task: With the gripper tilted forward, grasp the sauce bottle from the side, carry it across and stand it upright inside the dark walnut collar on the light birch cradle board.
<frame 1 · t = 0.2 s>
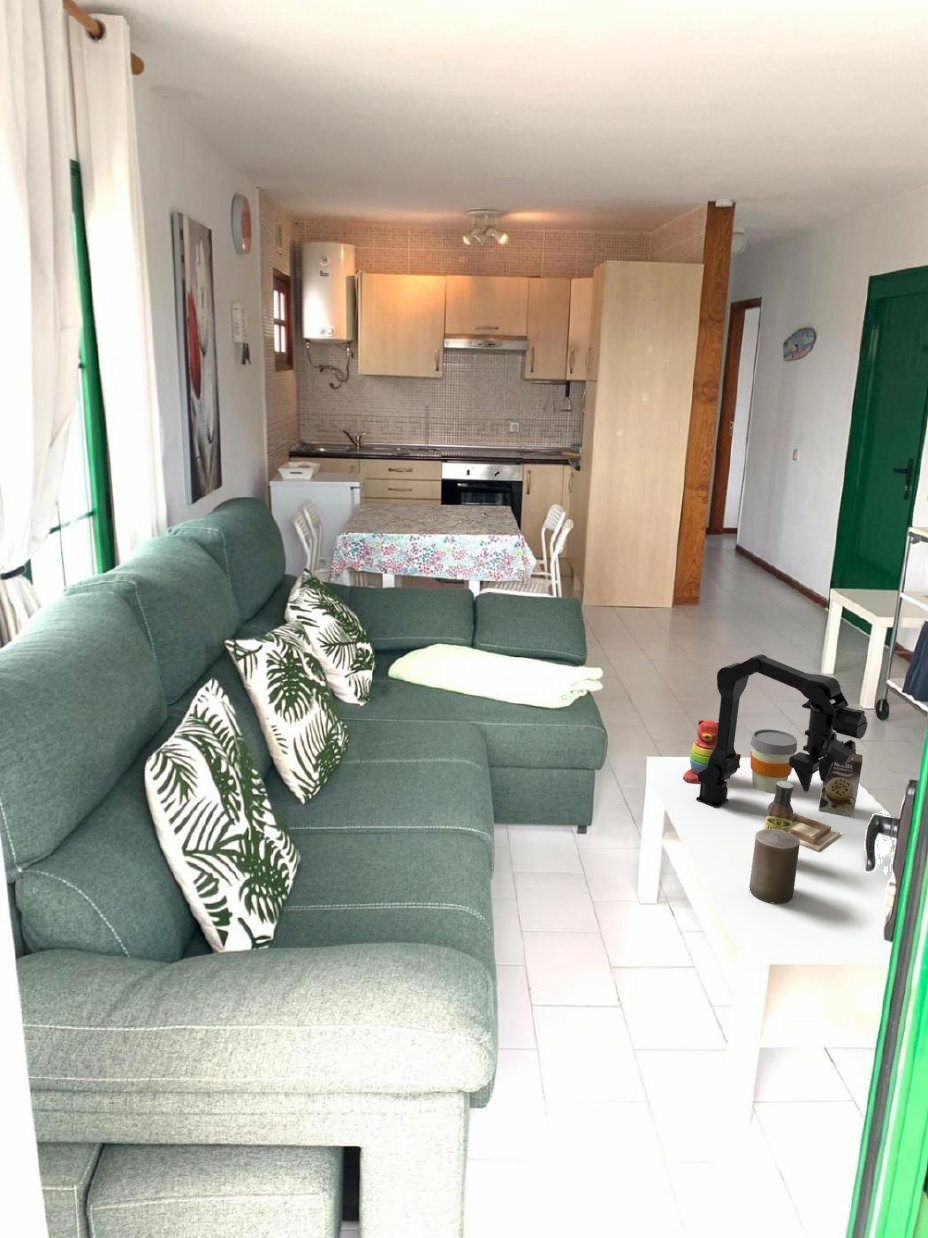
hand: (814, 786, 242), 14 cm above the table, tool pointing down, fingers open, 9 cm apart
reusable coffee cup: (768, 786, 276), on the table
cookie box: (836, 810, 263), on the table
stacking bear: (704, 779, 279), on the table
pillar candle: (770, 893, 220), on the table
sauce bottle: (773, 859, 236), on the table
cradle: (803, 833, 249), on the table
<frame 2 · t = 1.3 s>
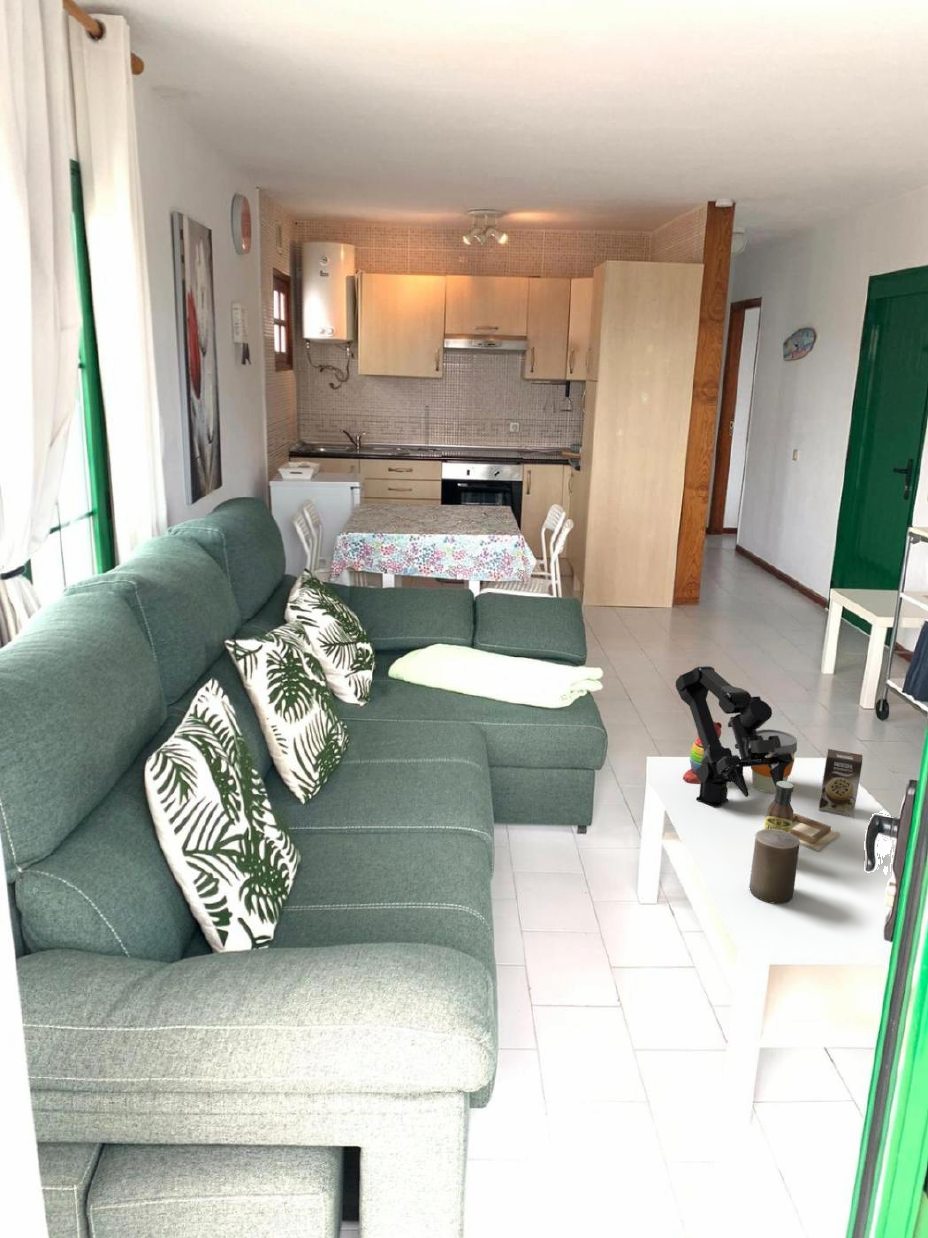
hand: (764, 795, 239), 13 cm above the table, tool tilted 45°, fingers open, 9 cm apart
nothing on the table moved.
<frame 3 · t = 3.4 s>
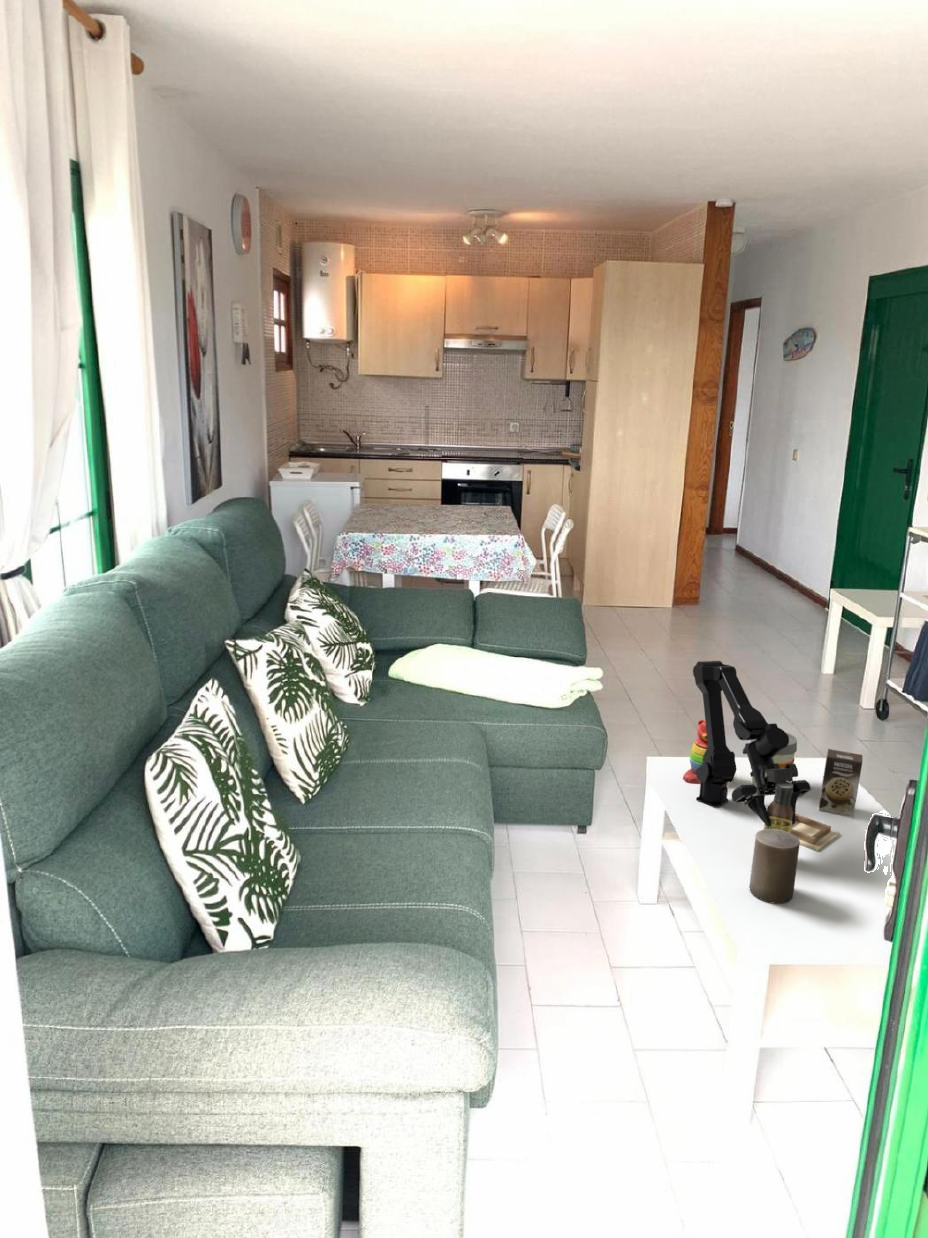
hand: (781, 825, 232), 10 cm above the table, tool tilted 45°, fingers closed on sauce bottle, 6 cm apart
sauce bottle: (773, 859, 236), on the table, touching gripper
everything else where it was.
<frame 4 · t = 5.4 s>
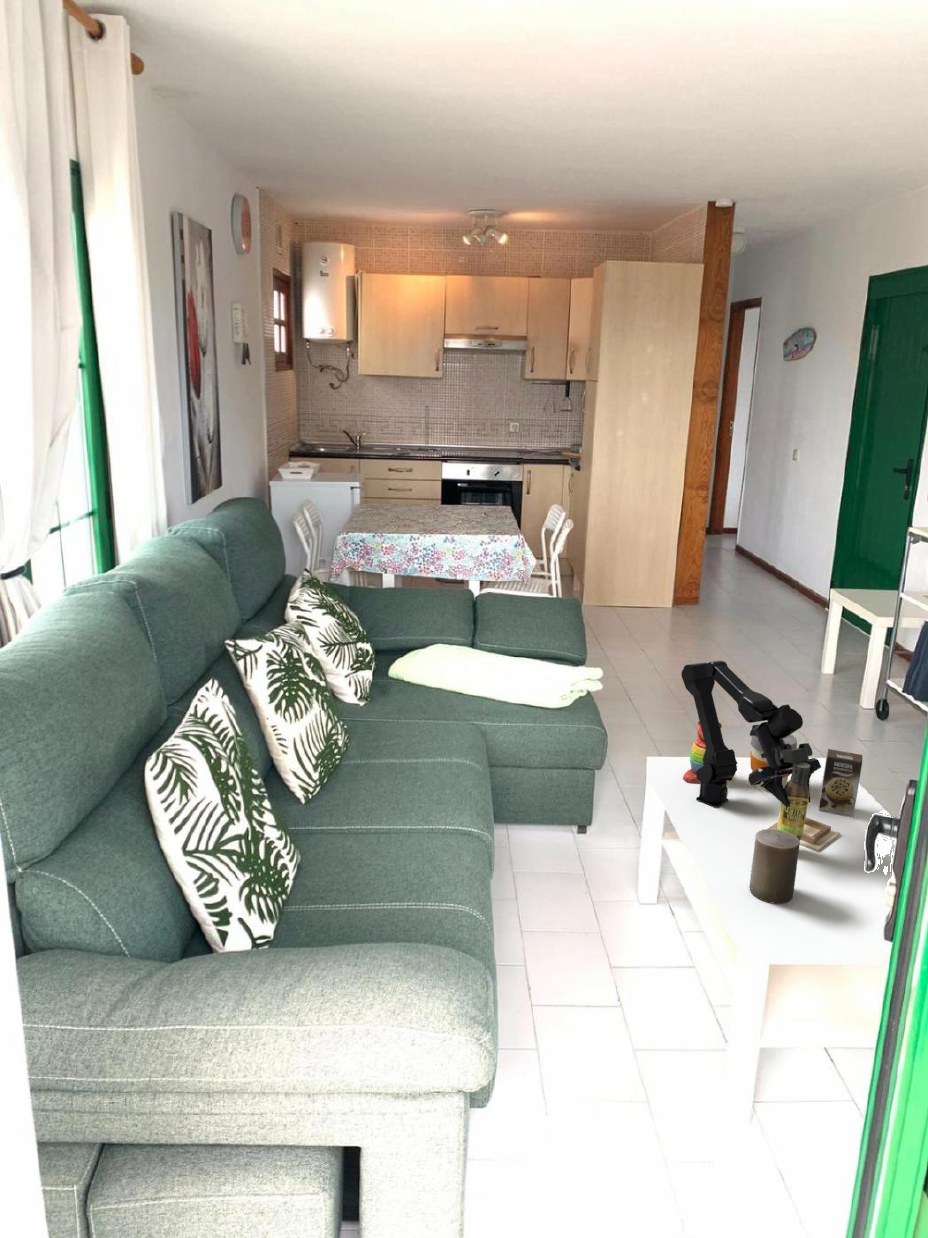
hand: (798, 804, 235), 13 cm above the table, tool tilted 45°, fingers closed on sauce bottle, 6 cm apart
sauce bottle: (789, 838, 238), point 3 cm above the table, touching gripper
everything else where it was.
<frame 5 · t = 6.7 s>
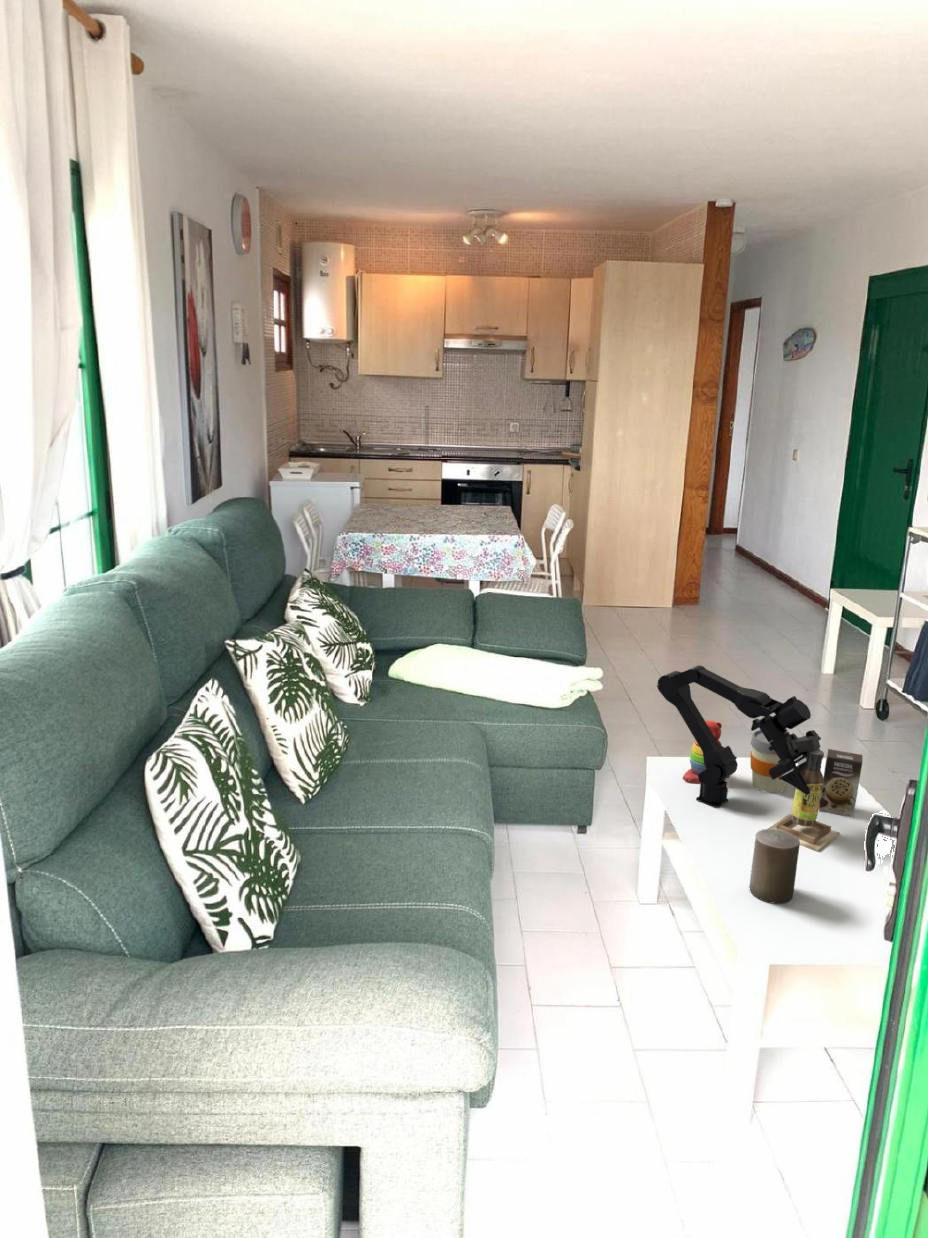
hand: (813, 790, 245), 13 cm above the table, tool tilted 45°, fingers closed on sauce bottle, 6 cm apart
sauce bottle: (803, 823, 248), point 3 cm above the table, touching gripper
everything else where it was.
when the fingers open (11 cm above the table, at t = 7.5 s): sauce bottle stays where it is, resting on cradle.
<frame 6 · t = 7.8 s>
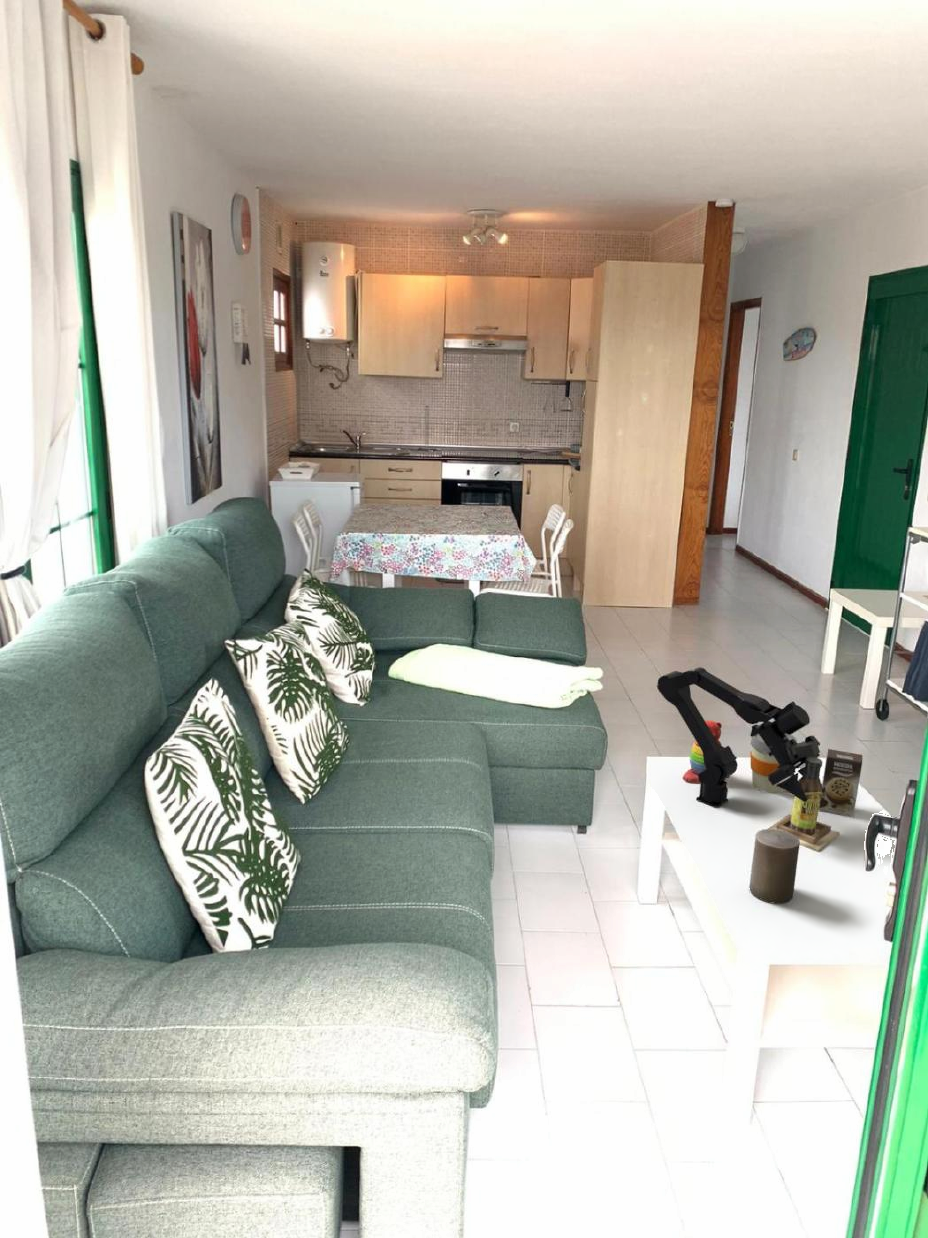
hand: (813, 795, 245), 11 cm above the table, tool tilted 45°, fingers open, 9 cm apart
sauce bottle: (802, 831, 249), resting on cradle
everything else where it was.
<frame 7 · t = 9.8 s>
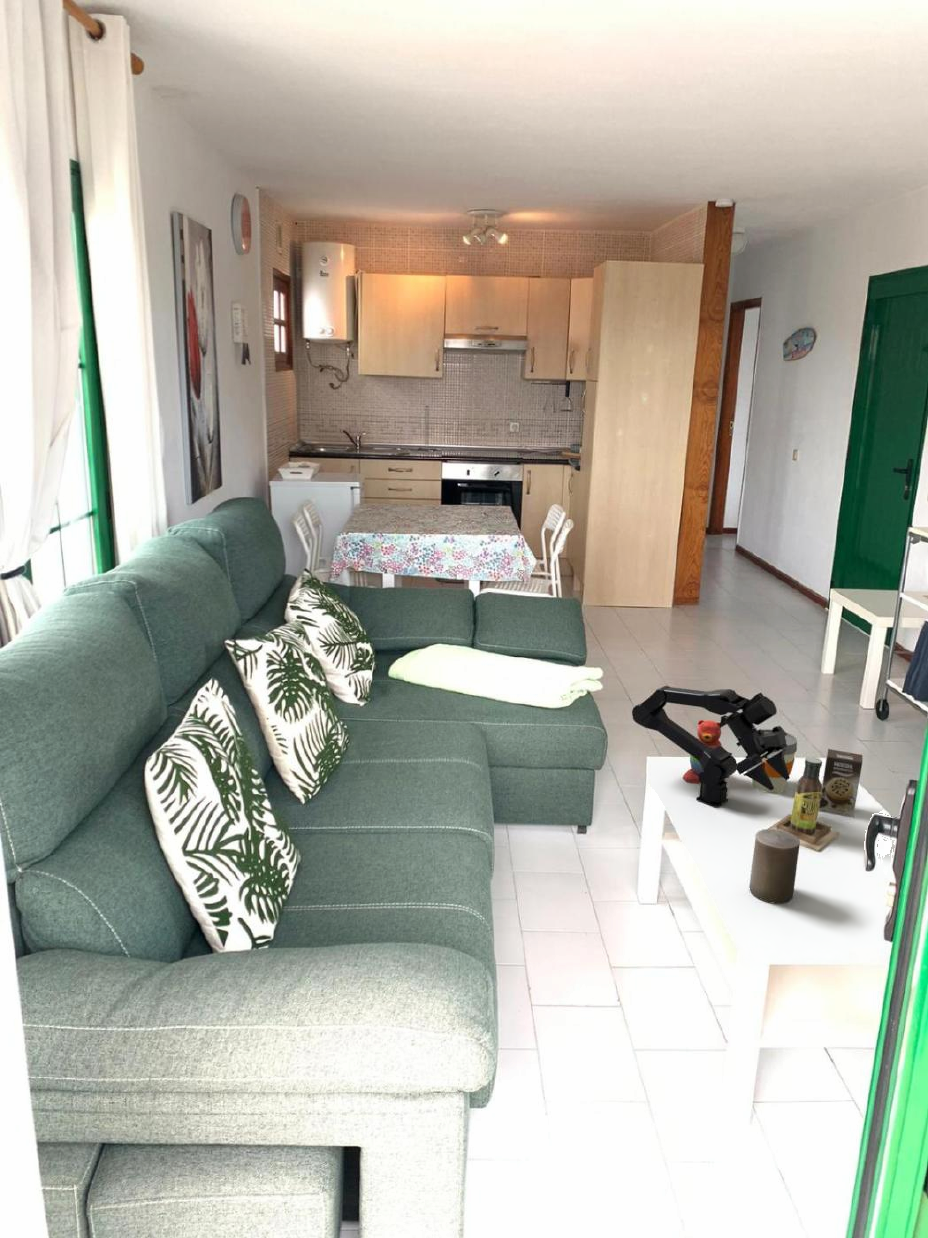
hand: (780, 784, 251), 11 cm above the table, tool tilted 45°, fingers open, 9 cm apart
nothing on the table moved.
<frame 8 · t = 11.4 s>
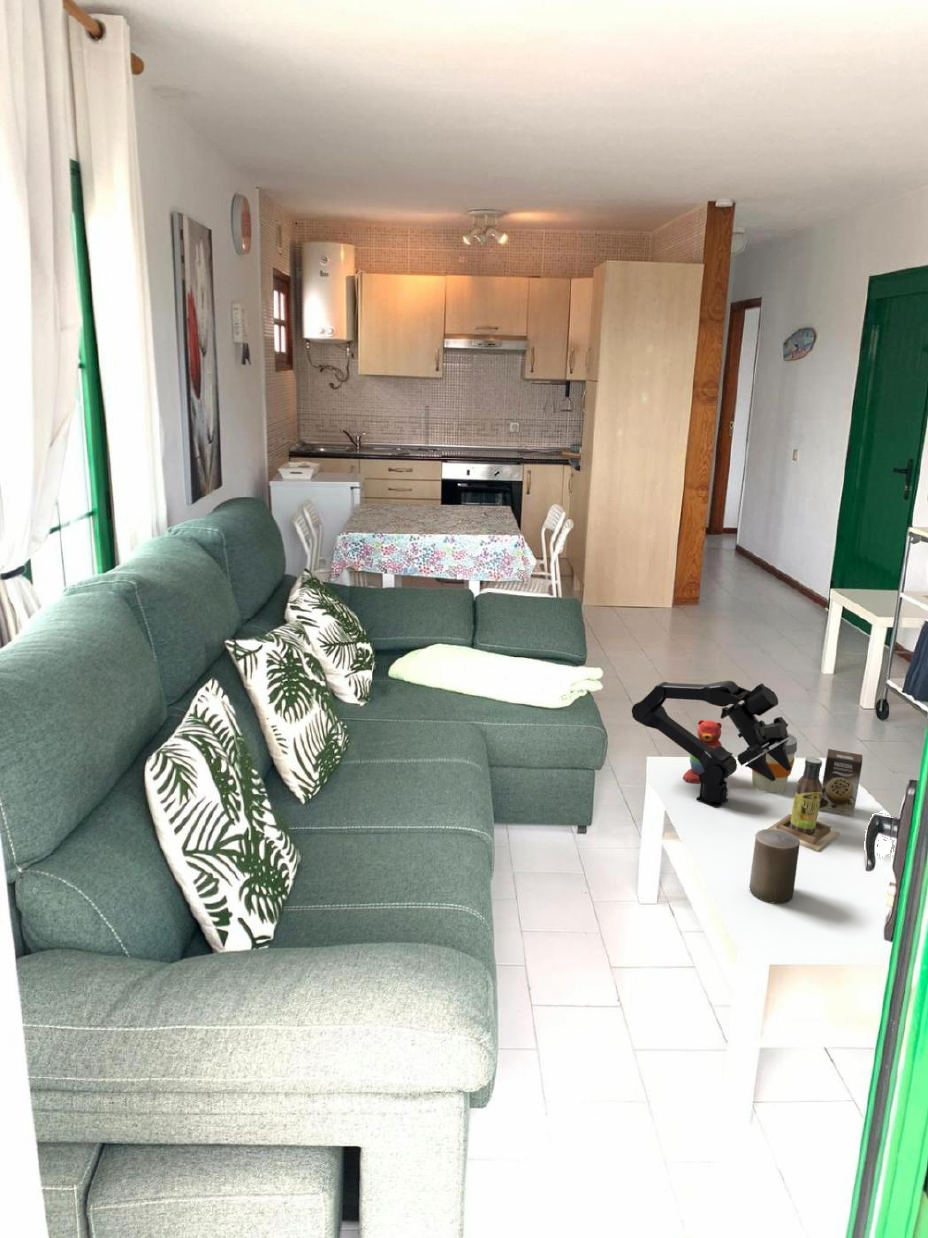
hand: (782, 775, 250), 14 cm above the table, tool tilted 45°, fingers open, 9 cm apart
nothing on the table moved.
at the end: sauce bottle 0.2 cm off-centre on the cradle, point 0.4 cm above the cradle's base; sauce bottle tilted 0°; the gripper is holding nothing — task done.
